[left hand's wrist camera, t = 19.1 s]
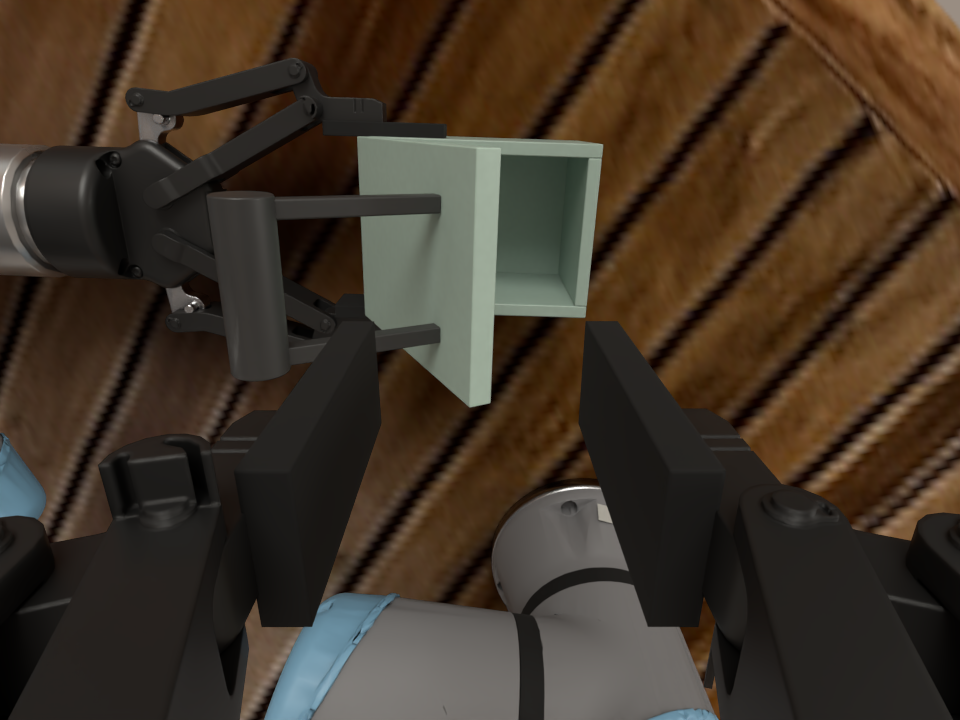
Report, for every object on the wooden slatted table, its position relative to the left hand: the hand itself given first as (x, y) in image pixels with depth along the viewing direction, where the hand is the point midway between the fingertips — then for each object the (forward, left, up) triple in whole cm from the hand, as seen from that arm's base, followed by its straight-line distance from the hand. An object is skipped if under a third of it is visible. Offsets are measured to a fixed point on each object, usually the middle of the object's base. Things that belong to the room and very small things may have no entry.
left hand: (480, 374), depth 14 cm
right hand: (-1, +2, -22) cm, 22 cm away
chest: (0, 0, -28) cm, 28 cm away
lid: (-1, +2, -14) cm, 14 cm away
